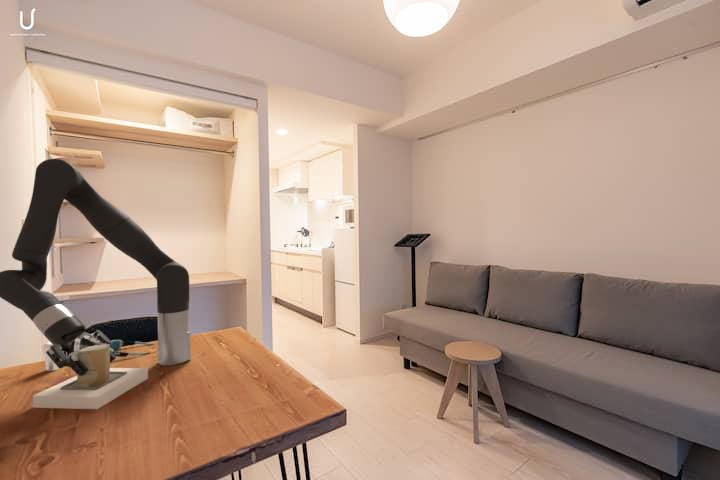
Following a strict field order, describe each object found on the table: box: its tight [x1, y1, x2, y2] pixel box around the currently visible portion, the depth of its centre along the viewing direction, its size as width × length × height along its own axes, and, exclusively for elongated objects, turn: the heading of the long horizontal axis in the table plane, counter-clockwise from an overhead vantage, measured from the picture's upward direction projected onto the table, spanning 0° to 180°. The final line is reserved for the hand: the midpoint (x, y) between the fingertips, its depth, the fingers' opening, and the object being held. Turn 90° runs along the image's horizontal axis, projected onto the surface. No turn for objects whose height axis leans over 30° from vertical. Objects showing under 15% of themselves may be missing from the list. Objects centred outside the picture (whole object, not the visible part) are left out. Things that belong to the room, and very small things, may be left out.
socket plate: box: [32, 367, 149, 410], centre depth 87 cm, size 17×17×3 cm
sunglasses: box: [104, 339, 155, 358], centre depth 118 cm, size 14×15×5 cm
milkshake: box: [42, 340, 62, 372], centre depth 103 cm, size 4×5×10 cm
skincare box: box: [76, 344, 111, 387], centre depth 87 cm, size 6×4×12 cm
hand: (99, 366), depth 87 cm, fingers open, 8 cm apart
